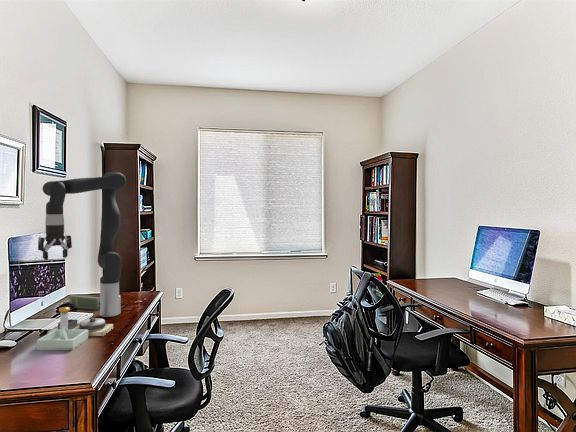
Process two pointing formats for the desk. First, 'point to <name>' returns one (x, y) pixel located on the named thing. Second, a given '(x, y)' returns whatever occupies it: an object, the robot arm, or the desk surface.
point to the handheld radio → (85, 302)
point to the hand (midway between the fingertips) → (55, 258)
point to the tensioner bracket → (88, 326)
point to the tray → (54, 342)
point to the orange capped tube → (64, 323)
